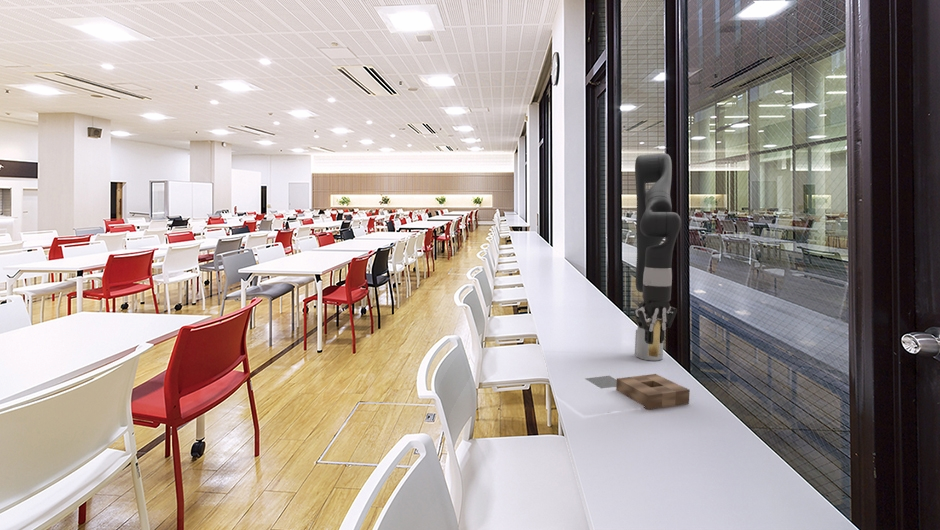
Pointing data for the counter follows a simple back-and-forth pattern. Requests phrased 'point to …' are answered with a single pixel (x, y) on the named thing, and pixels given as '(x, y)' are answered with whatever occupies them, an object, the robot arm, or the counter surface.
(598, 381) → the rubber mat
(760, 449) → the counter surface
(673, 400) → the walnut block
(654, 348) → the brass pin
